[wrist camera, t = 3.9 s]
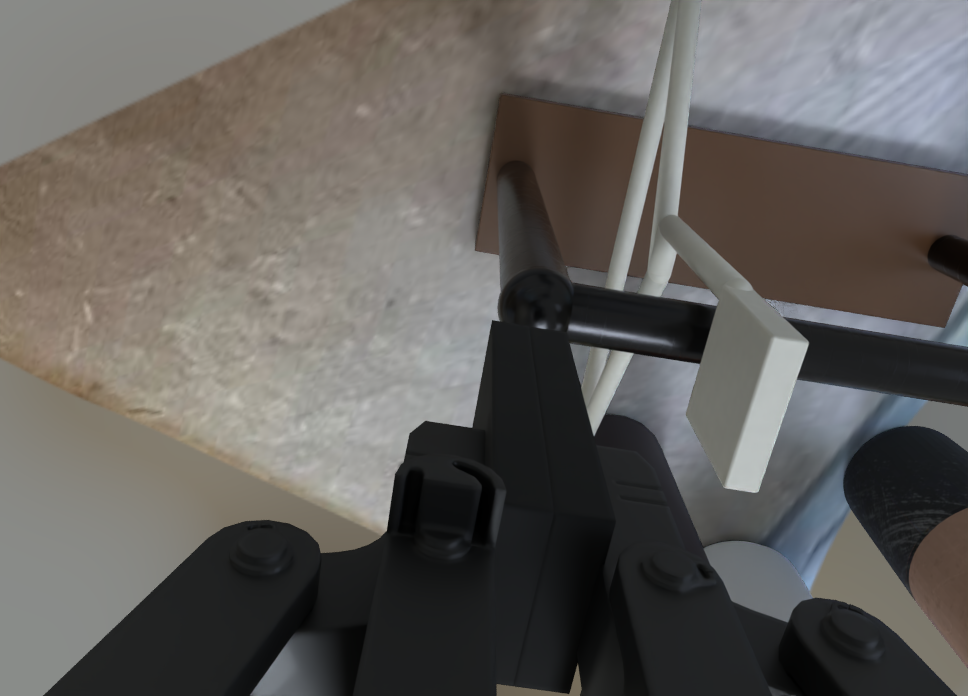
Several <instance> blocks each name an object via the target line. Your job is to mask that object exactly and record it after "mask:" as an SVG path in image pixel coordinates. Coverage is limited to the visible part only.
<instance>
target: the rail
mask: <svg viewBox="0 0 968 696" xmlns="http://www.w3.org/2000/svg"><path fill="white" fill-rule="evenodd" d="M643 120H644V118H643V117H637V116H632V115H626V114H620V113H615V112H609V111H603V110H597V109H592V108H586V107H580V106H575V105H569V104H563V103H557V102H552V101H546V100H540V99H535V98H529V97H523V96H517V95H512V94H506V93H500V98H499V104H498V110H497V116H496V122H495V128H494V134H493V140H492V146H491V152H490V158H489V164H488V170H487V176H486V182H485V188H484V194H483V200H482V207H481V213H480V219H479V225H478V231H477V237H476V243H475V251H479V252H485V253H491V254H497V255H499V259H500V286H501V293H500V296H499V299H498V316H499V320H500V322H506V323H512V324H518V325H524V326H530V327H536V328H543V329H549V330H555V331H561V332H566V333H567V336H568V340H569V343H571V344H577V345H583V346H589V347H596V348H602V349H608V350H615V351H621V352H627V353H634V354H640V355H646V356H652V357H659V358H665V359H671V360H678V361H684V362H690V363H696V364H700V363H701V360H702V356H703V353H704V350H705V346H706V343H707V339H708V336H709V332H710V329H711V325H712V322H713V319H714V315H715V312H716V308H717V306H713V305H707V304H701V303H694V302H688V301H682V300H676V299H670V298H664V297H658V296H651V295H645V294H639V293H633V292H627V291H621V290H615V289H609V288H602V287H596V286H590V285H584V284H578V283H572V282H571V280H570V279H569V276H568V273H567V270H566V267H565V266H570V267H576V268H583V269H589V270H595V271H601V272H607V273H608V271H609V267H610V262H611V258H612V254H613V249H614V245H615V241H616V237H617V232H618V228H619V224H620V219H621V215H622V211H623V206H624V202H625V198H626V193H627V189H628V185H629V181H630V176H631V172H632V168H633V163H634V159H635V155H636V150H637V146H638V142H639V138H640V133H641V129H642V125H643ZM664 123H665V121H664ZM663 131H664V124H663V128H662V132H661V136H660V141H659V145H658V149H657V153H656V157H655V161H654V165H653V170H652V174H651V178H650V182H649V186H648V190H647V194H646V199H645V203H644V207H643V211H642V215H641V219H640V223H639V227H638V232H637V236H636V240H635V244H634V248H633V252H632V256H631V261H630V265H629V269H628V273H627V276H631V277H637V278H643V279H644V276H645V274H646V272H647V268H648V260H649V251H650V242H651V234H652V225H653V217H654V208H655V200H656V191H657V183H658V174H659V165H660V157H661V148H662V140H663ZM678 217H679V218H680V219H681V220H682V221H684V222H685V223H686V224H687V225H688V226H689V227H690V228H691V229H692V230H693V231H694V232H695V233H696V234H698V235H699V236H700V237H701V238H702V239H703V240H704V241H705V242H706V243H707V244H708V245H709V246H710V247H711V248H713V249H714V250H715V251H716V252H717V253H718V254H719V255H720V256H721V257H722V258H723V259H724V260H725V261H727V262H728V263H729V264H730V265H731V266H732V267H733V268H734V269H735V270H736V271H737V272H738V273H739V274H741V275H742V276H743V277H744V278H745V279H746V280H747V281H748V282H749V283H750V284H751V286H752V288H753V290H755V291H756V292H757V293H758V294H759V295H760V296H761V297H762V298H765V299H771V300H778V301H784V302H790V303H796V304H802V305H808V306H814V307H820V308H826V309H832V310H838V311H845V312H851V313H857V314H863V315H869V316H875V317H881V318H887V319H893V320H899V321H906V322H912V323H918V324H924V325H930V326H936V327H942V328H945V326H946V324H947V322H948V319H949V317H950V314H951V312H952V309H953V307H954V304H955V302H956V299H957V297H958V295H959V292H960V290H961V287H962V285H965V286H967V287H968V174H963V173H957V172H952V171H946V170H940V169H935V168H929V167H923V166H917V165H912V164H906V163H900V162H895V161H889V160H883V159H877V158H872V157H866V156H860V155H855V154H849V153H843V152H837V151H832V150H826V149H820V148H815V147H809V146H803V145H797V144H792V143H786V142H780V141H775V140H769V139H763V138H757V137H752V136H746V135H740V134H735V133H729V132H723V131H717V130H712V129H706V128H700V127H695V126H689V125H688V127H687V136H686V145H685V153H684V162H683V171H682V180H681V189H680V198H679V207H678ZM668 283H674V284H680V285H686V286H692V287H698V288H704V289H709V288H708V287H707V286H706V285H705V284H704V283H703V281H702V280H701V279H700V278H699V277H698V276H697V275H696V273H695V272H694V271H693V270H692V269H691V268H690V267H689V266H688V264H687V263H686V262H685V261H684V260H683V259H682V258H681V257H680V255H679V254H678V253H677V254H676V258H675V262H674V266H673V269H672V273H671V276H670V279H669V281H668ZM783 318H784V319H785V320H786V321H787V322H789V323H790V324H791V325H792V326H793V327H794V328H795V329H796V330H797V331H798V332H799V333H800V334H801V335H802V336H803V337H804V338H806V339H807V340H808V342H809V345H808V348H807V351H806V354H805V357H804V360H803V362H802V365H801V368H800V371H799V374H798V377H797V380H803V381H810V382H816V383H822V384H829V385H835V386H841V387H848V388H854V389H860V390H866V391H873V392H879V393H885V394H892V395H898V396H904V397H910V398H917V399H923V400H929V401H936V402H942V403H949V404H955V405H961V406H967V407H968V347H964V346H958V345H952V344H946V343H940V342H934V341H927V340H921V339H915V338H909V337H903V336H897V335H891V334H885V333H878V332H872V331H866V330H860V329H854V328H848V327H842V326H835V325H829V324H823V323H817V322H811V321H805V320H799V319H793V318H786V317H783Z"/></svg>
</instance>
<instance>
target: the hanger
mask: <svg viewBox="0 0 968 696" xmlns="http://www.w3.org/2000/svg"><path fill="white" fill-rule="evenodd" d="M701 1H702V0H671V4H670V8H669V13H668V17H667V21H666V26H665V30H664V34H663V39H662V43H661V47H660V51H659V56H658V60H657V64H656V69H655V73H654V77H653V82H652V86H651V90H650V94H649V99H648V103H647V107H646V112H645V116H644V120H643V125H642V129H641V133H640V138H639V142H638V146H637V150H636V155H635V159H634V163H633V168H632V172H631V176H630V181H629V185H628V189H627V193H626V198H625V202H624V206H623V211H622V215H621V219H620V224H619V228H618V232H617V237H616V241H615V245H614V249H613V254H612V258H611V262H610V267H609V271H608V275H607V280H606V284H605V288H609V289H615V290H621V291H623V290H624V285H625V281H626V277H627V273H628V269H629V265H630V261H631V256H632V252H633V248H634V244H635V240H636V236H637V232H638V227H639V223H640V219H641V215H642V211H643V207H644V203H645V199H646V194H647V190H648V186H649V182H650V178H651V174H652V170H653V165H654V161H655V157H656V153H657V149H658V145H659V141H660V136H661V132H662V128H663V124H664V131H663V140H662V148H661V157H660V165H659V174H658V183H657V191H656V200H655V208H654V217H653V225H652V234H651V242H650V251H649V260H648V268H647V272H646V274H645V276H644V279H643V281H642V283H641V285H640V288H639V290H638V292H637V293H639V294H645V295H651V296H658V297H661V295H662V293H663V291H664V289H665V287H666V285H667V283H668V281H669V279H670V276H671V273H672V269H673V266H674V262H675V258H676V254H677V253H678V254H679V255H680V257H681V258H682V259H683V260H684V261H685V262H686V263H687V264H688V266H689V267H690V268H691V269H692V270H693V271H694V272H695V273H696V275H697V276H698V277H699V278H700V279H701V280H702V281H703V283H704V284H705V285H706V286H707V287H708V288H709V289H710V290H711V292H712V293H713V294H714V295H715V296H716V297H717V298H718V299H719V301H718V305H717V308H716V312H715V315H714V319H713V322H712V325H711V329H710V332H709V336H708V339H707V343H706V346H705V350H704V353H703V356H702V360H701V363H700V367H699V370H698V374H697V377H696V381H695V384H694V387H693V391H692V394H691V398H690V401H689V405H688V408H687V412H686V416H687V418H688V420H689V422H690V424H691V426H692V428H693V430H694V432H695V434H696V436H697V438H698V439H699V441H700V443H701V445H702V447H703V449H704V451H705V453H706V455H707V457H708V459H709V461H710V462H711V464H712V466H713V468H714V470H715V472H716V474H717V476H718V478H719V480H720V482H721V483H722V485H723V487H724V488H727V489H733V490H740V491H747V492H753V493H757V492H758V491H759V488H760V485H761V482H762V479H763V476H764V474H765V471H766V468H767V465H768V462H769V459H770V456H771V453H772V450H773V447H774V444H775V441H776V438H777V436H778V433H779V430H780V427H781V424H782V421H783V418H784V415H785V412H786V409H787V406H788V403H789V400H790V398H791V395H792V392H793V389H794V386H795V383H796V380H797V377H798V374H799V371H800V368H801V365H802V362H803V360H804V357H805V354H806V351H807V348H808V345H809V342H808V340H807V339H806V338H804V337H803V336H802V335H801V334H800V333H799V332H798V331H797V330H796V329H795V328H794V327H793V326H792V325H791V324H790V323H789V322H787V321H786V320H785V319H784V318H783V317H782V316H781V315H780V314H779V313H778V312H777V311H776V310H775V309H774V308H773V307H772V306H770V305H769V304H768V303H767V302H766V301H765V300H764V299H763V298H762V297H761V296H760V295H759V294H758V293H757V292H756V291H755V290H753V288H752V286H751V284H750V283H749V282H748V281H747V280H746V279H745V278H744V277H743V276H742V275H741V274H739V273H738V272H737V271H736V270H735V269H734V268H733V267H732V266H731V265H730V264H729V263H728V262H727V261H725V260H724V259H723V258H722V257H721V256H720V255H719V254H718V253H717V252H716V251H715V250H714V249H713V248H711V247H710V246H709V245H708V244H707V243H706V242H705V241H704V240H703V239H702V238H701V237H700V236H699V235H698V234H696V233H695V232H694V231H693V230H692V229H691V228H690V227H689V226H688V225H687V224H686V223H685V222H684V221H682V220H681V219H680V218H679V217H678V207H679V198H680V189H681V180H682V171H683V162H684V153H685V145H686V136H687V127H688V118H689V109H690V100H691V91H692V82H693V73H694V64H695V55H696V46H697V37H698V28H699V19H700V10H701ZM664 120H665V123H664ZM608 352H609V350H608V349H602V348H596V347H591V348H590V353H589V357H588V361H587V366H586V370H585V374H584V379H583V383H582V387H581V389H582V393H583V397H584V401H585V405H586V408H587V412H588V416H589V420H590V424H591V427H592V431H593V435H595V433H596V431H597V429H598V427H599V425H600V423H601V421H602V419H603V417H604V415H605V412H606V410H607V408H608V406H609V404H610V402H611V400H612V398H613V396H614V394H615V391H616V389H617V387H618V385H619V383H620V381H621V379H622V377H623V375H624V373H625V371H626V368H627V366H628V364H629V362H630V360H631V358H632V356H633V354H634V353H627V352H621V351H615V350H612V351H611V354H610V356H609V358H608V360H607V356H608ZM606 360H607V363H606ZM605 364H606V365H605Z"/></svg>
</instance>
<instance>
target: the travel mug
mask: <svg viewBox="0 0 968 696" xmlns="http://www.w3.org/2000/svg"><path fill="white" fill-rule="evenodd" d="M844 493H845V497H846V500H847V503H848V504H849V506H850V508H851V510H852V511H853V513H854V514H855V516H856V517H857V519H858V520H859V522H860V523H861V525H862V526H863V527H864V529H865V530H866V532H867V533H868V535H869V536H870V537H871V539H872V540H873V542H874V543H875V545H876V546H877V547H878V549H879V550H880V552H881V553H882V554H883V556H884V557H885V559H886V560H887V561H888V563H889V564H890V566H891V567H892V569H893V570H894V572H895V573H896V574H897V576H898V577H899V579H900V580H901V581H902V583H903V584H904V586H905V587H906V588H907V590H908V591H909V593H910V594H911V596H912V597H913V598H914V600H915V601H916V602H917V604H918V605H919V607H920V608H921V609H922V610H923V612H924V613H925V614H926V616H927V617H928V618H929V620H930V621H931V622H932V623H933V625H934V626H935V627H936V628H937V630H938V631H939V632H940V633H941V635H942V636H943V637H944V639H945V640H946V641H947V642H948V644H949V645H950V646H951V648H952V649H953V650H954V651H955V653H956V654H957V655H958V656H959V658H960V659H961V660H962V662H963V663H964V664H965V666H966V667H967V668H968V452H967V451H966V450H964V449H963V448H961V447H960V446H959V445H958V444H956V443H955V442H954V441H952V440H951V439H950V438H948V437H947V436H945V435H944V434H942V433H940V432H938V431H936V430H933V429H930V428H925V427H919V426H906V427H899V428H895V429H891V430H889V431H886V432H884V433H881V434H879V435H877V436H876V437H874V438H872V439H871V440H870V441H868V442H867V443H866V444H864V445H863V446H862V447H861V448H860V449H859V450H858V451H857V453H856V454H855V455H854V456H853V458H852V460H851V461H850V463H849V465H848V467H847V470H846V473H845V477H844Z"/></svg>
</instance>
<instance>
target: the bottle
mask: <svg viewBox="0 0 968 696" xmlns="http://www.w3.org/2000/svg"><path fill="white" fill-rule="evenodd" d="M594 439H595V443H596V445H599V446H605V447H612V448H618V449H625V450H631V451H637V452H638V453H639V454H640V455H641V456H642V457H643V458H644V459H645V460H646V461H647V462H648V463H649V464H650V465H651V466H652V467H653V468H654V469H655V471H656V474H657V476H658V479H659V482H660V484H661V487H662V489H661V491H663V492H664V494H665V497H666V500H667V502H668V503H667V506H669V507H670V510H671V513H672V515H673V518H674V520H675V523H676V526H677V528H678V531H679V533H680V536H681V538H682V541H683V544H684V546H685V549H686V550H687V551H689V552H691V553H693V554H695V555H697V556H699V557H700V558H702V559H703V560H704V561H705V562H707V563H708V564H709V565H710V563H709V560H708V558H707V556H706V553H705V551H704V548H703V546H702V544H701V541H700V539H699V537H698V534H697V532H696V529H695V527H694V525H693V522H692V520H691V517H690V515H689V513H688V510H687V508H686V506H685V503H684V501H683V498H682V496H681V494H680V491H679V489H678V486H677V484H676V482H675V479H674V477H673V475H672V472H671V470H670V467H669V465H668V463H667V460H666V458H665V456H664V453H663V451H662V449H661V447H660V445H659V443H658V441H657V439H656V437H655V435H654V434H653V433H652V432H650V431H649V430H648V429H647V428H646V427H645V426H644V425H643V424H641V423H639V422H637V421H635V420H633V419H630V418H628V417H626V416H618V415H610V414H607V415H604V417H603V419H602V421H601V423H600V425H599V427H598V429H597V431H596V433H595V435H594ZM710 566H711V565H710Z"/></svg>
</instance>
